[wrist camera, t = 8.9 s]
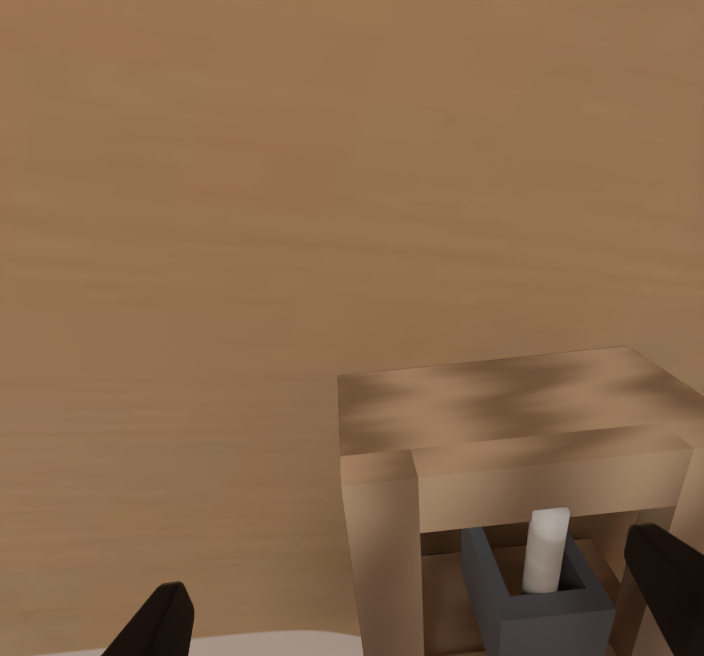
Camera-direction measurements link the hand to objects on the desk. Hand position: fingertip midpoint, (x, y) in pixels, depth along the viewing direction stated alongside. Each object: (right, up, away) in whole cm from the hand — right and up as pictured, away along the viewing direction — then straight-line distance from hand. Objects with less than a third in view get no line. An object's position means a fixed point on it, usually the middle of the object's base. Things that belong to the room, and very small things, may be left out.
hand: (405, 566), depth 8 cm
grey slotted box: (+6, -5, +11) cm, 14 cm away
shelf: (+6, -4, +14) cm, 16 cm away
